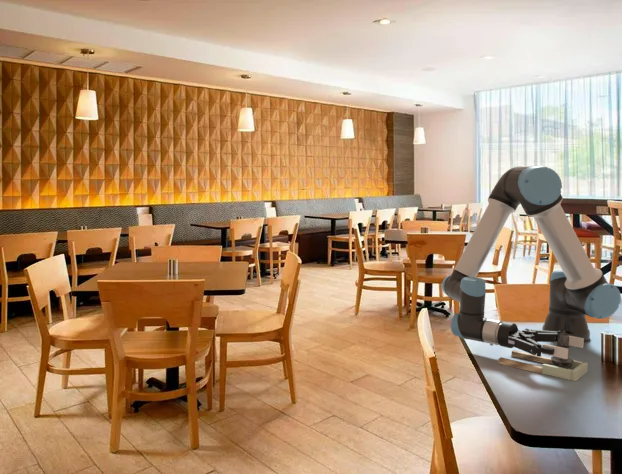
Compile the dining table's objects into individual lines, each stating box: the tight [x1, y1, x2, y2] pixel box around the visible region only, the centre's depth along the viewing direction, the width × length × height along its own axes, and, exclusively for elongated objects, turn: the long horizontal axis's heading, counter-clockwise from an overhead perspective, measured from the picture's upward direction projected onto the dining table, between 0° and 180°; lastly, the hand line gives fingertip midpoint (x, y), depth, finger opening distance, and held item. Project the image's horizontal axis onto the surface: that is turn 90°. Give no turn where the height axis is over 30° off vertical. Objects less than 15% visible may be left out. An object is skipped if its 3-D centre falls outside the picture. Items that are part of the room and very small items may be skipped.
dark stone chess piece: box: [550, 331, 575, 369], centre depth 155 cm, size 6×6×12 cm
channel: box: [498, 349, 554, 375], centre depth 162 cm, size 12×11×2 cm
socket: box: [541, 359, 589, 382], centre depth 155 cm, size 9×10×2 cm
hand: (575, 348), depth 152 cm, fingers open, 13 cm apart
